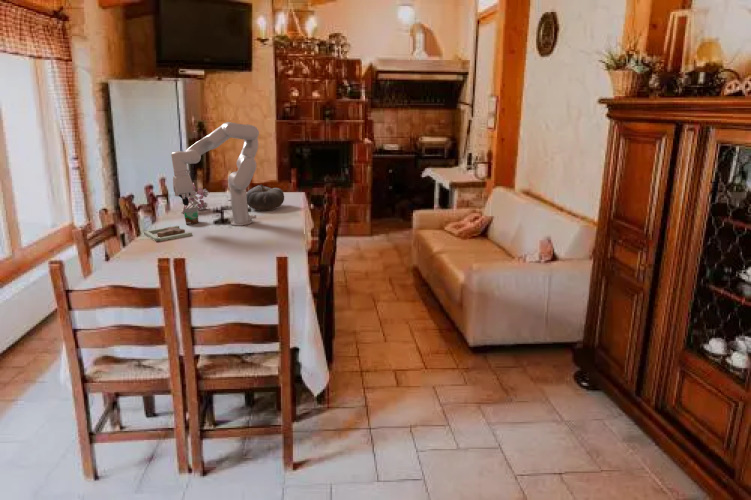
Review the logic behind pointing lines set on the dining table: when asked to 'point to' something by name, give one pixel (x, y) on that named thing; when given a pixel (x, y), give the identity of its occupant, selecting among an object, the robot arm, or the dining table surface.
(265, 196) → the gourd
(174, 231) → the walnut T block
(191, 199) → the flower
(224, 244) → the dining table surface
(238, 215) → the robot arm
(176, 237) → the sage-green bay
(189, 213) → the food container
